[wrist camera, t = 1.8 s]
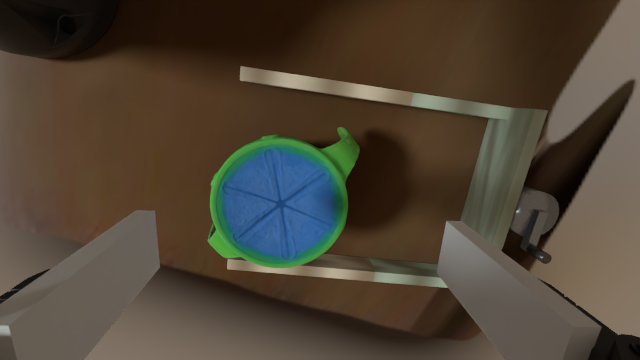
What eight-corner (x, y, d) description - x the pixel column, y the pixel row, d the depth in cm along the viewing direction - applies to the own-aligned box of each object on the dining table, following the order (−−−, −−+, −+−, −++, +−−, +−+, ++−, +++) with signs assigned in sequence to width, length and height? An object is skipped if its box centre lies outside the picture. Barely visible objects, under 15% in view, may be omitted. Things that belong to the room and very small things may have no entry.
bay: (233, 254, 34) (219, 286, 28) (246, 69, 29) (233, 62, 23) (454, 274, 37) (483, 307, 31) (502, 108, 32) (547, 110, 26)
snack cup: (323, 93, 30) (334, 90, 20) (370, 178, 33) (401, 212, 23) (197, 171, 31) (150, 203, 21) (253, 246, 34) (234, 306, 24)
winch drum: (477, 229, 35) (521, 261, 28) (493, 178, 34) (543, 199, 27) (516, 233, 36) (567, 265, 29) (532, 183, 34) (592, 205, 27)
